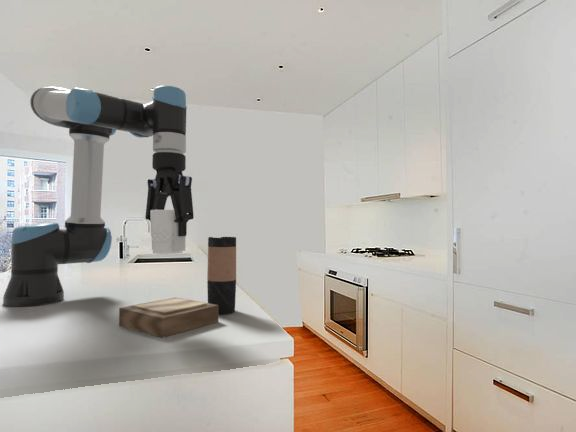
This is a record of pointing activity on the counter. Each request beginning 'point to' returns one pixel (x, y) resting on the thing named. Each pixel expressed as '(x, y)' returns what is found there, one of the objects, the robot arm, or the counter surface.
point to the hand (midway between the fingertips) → (168, 249)
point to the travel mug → (222, 273)
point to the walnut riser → (168, 316)
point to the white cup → (163, 231)
